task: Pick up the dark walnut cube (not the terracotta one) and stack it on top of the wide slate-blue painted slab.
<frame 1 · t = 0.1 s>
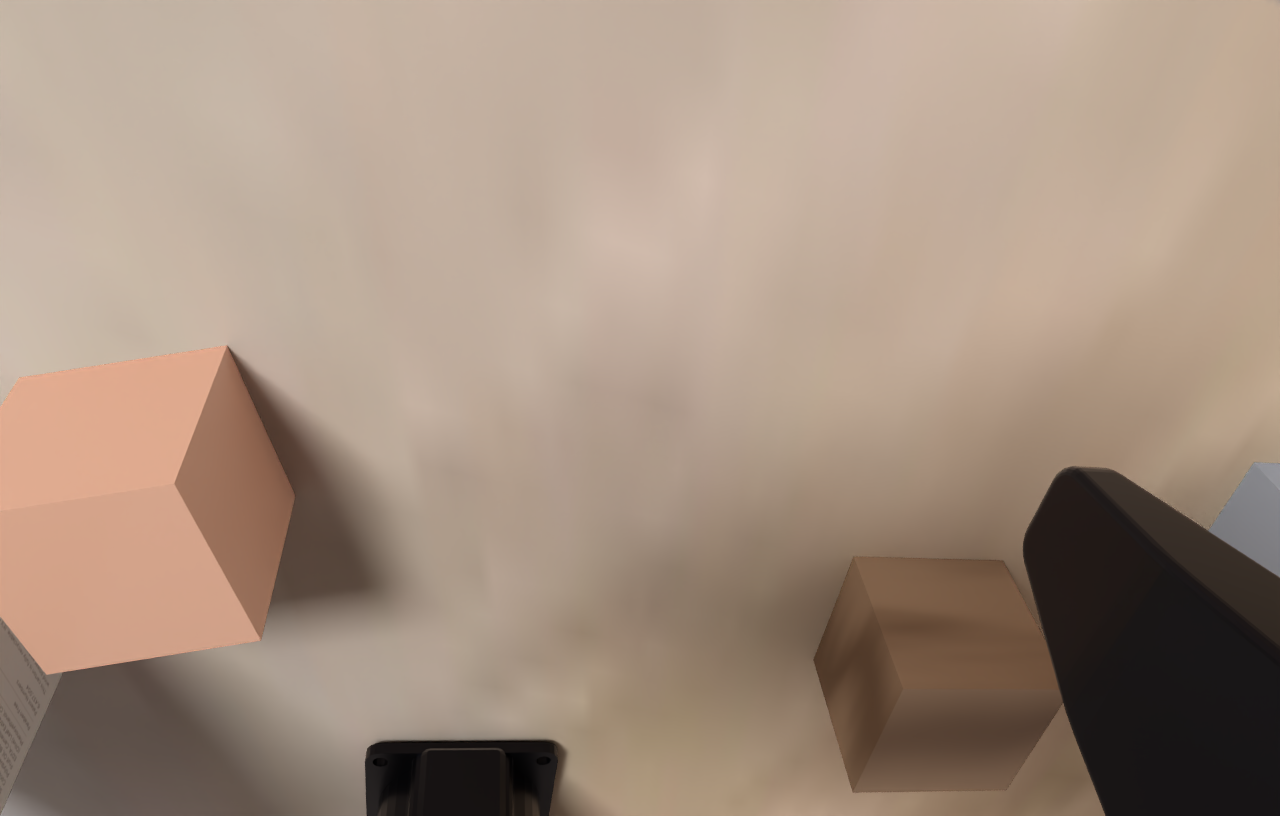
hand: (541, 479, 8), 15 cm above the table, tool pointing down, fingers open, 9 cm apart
terracotta cube: (166, 438, 26), on the table
walnut cube: (904, 609, 33), on the table
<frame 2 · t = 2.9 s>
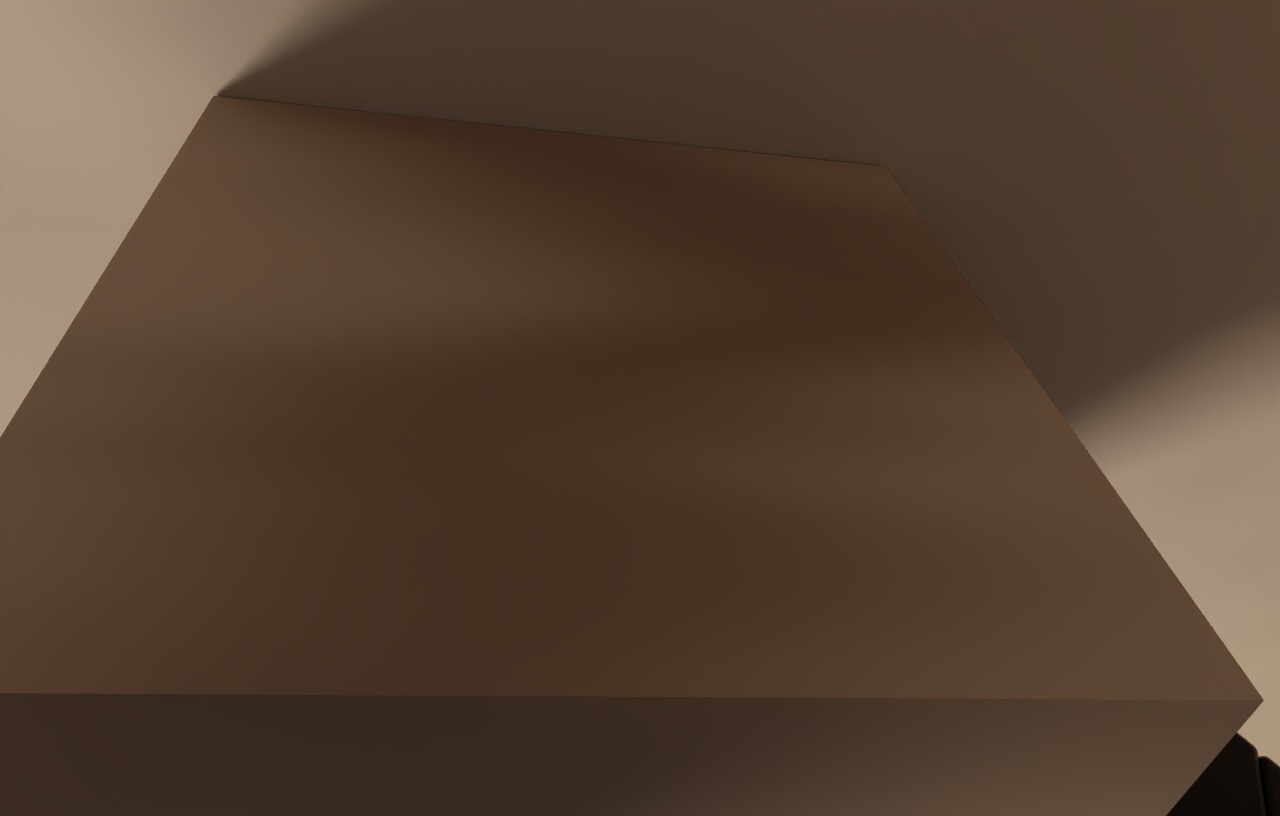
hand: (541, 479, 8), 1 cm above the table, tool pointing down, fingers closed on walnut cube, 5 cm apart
walnut cube: (538, 400, 9), on the table, touching gripper
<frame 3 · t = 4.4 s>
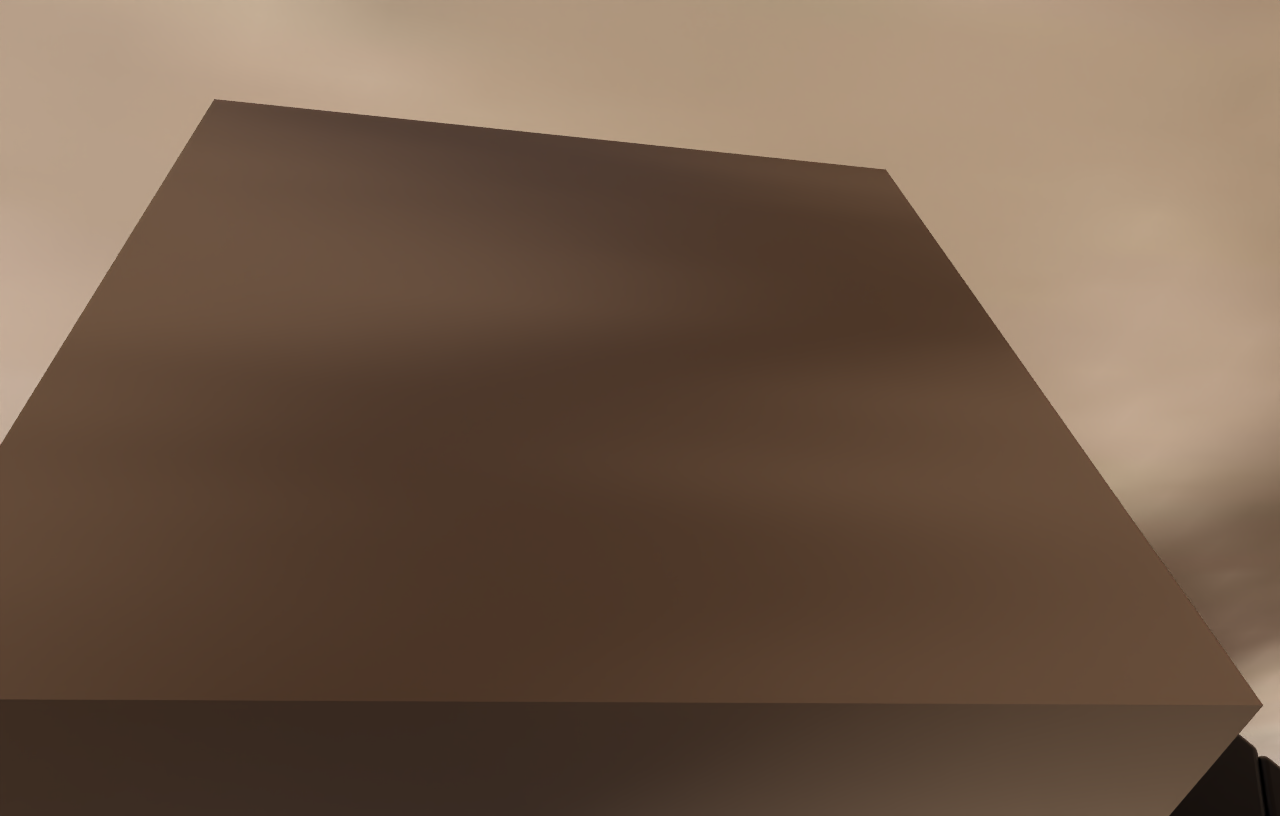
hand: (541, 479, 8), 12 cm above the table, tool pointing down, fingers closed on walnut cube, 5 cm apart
walnut cube: (539, 403, 9), point 11 cm above the table, touching gripper
when the fingers open (6 cm above the table, at t = 6.1 s): walnut cube drops 1 cm, resting on slate slab.
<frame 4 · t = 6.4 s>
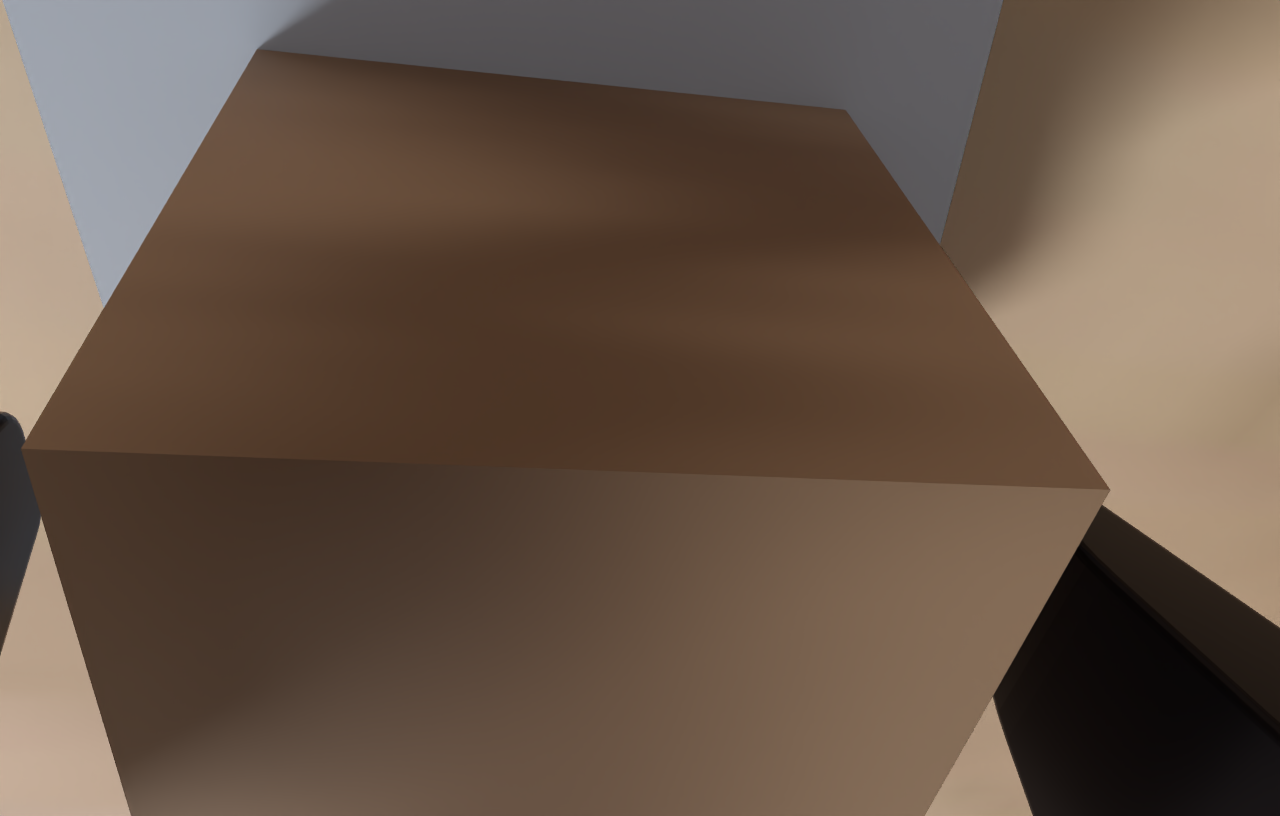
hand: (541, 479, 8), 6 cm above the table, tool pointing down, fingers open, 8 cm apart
walnut cube: (541, 327, 10), point 4 cm above the table, touching slate slab
slate slab: (527, 152, 13), on the table, touching walnut cube
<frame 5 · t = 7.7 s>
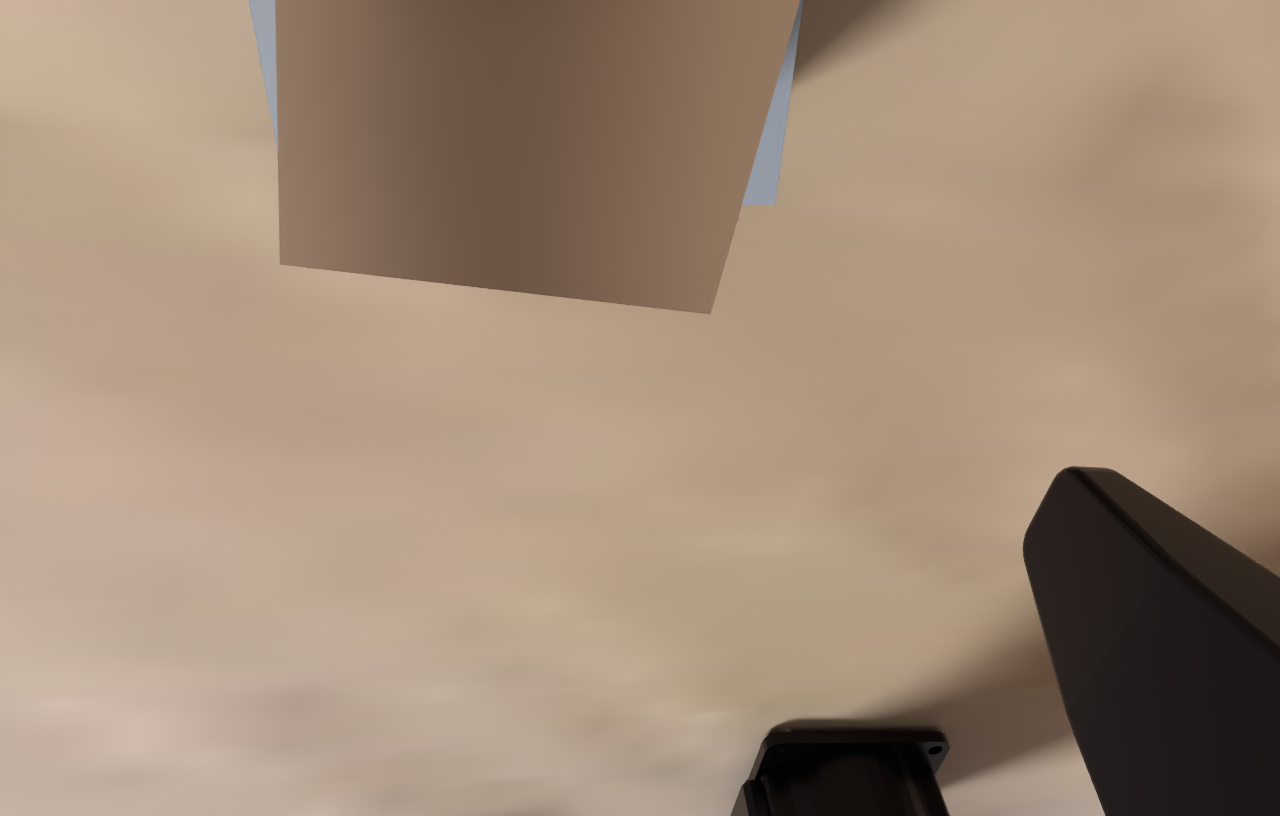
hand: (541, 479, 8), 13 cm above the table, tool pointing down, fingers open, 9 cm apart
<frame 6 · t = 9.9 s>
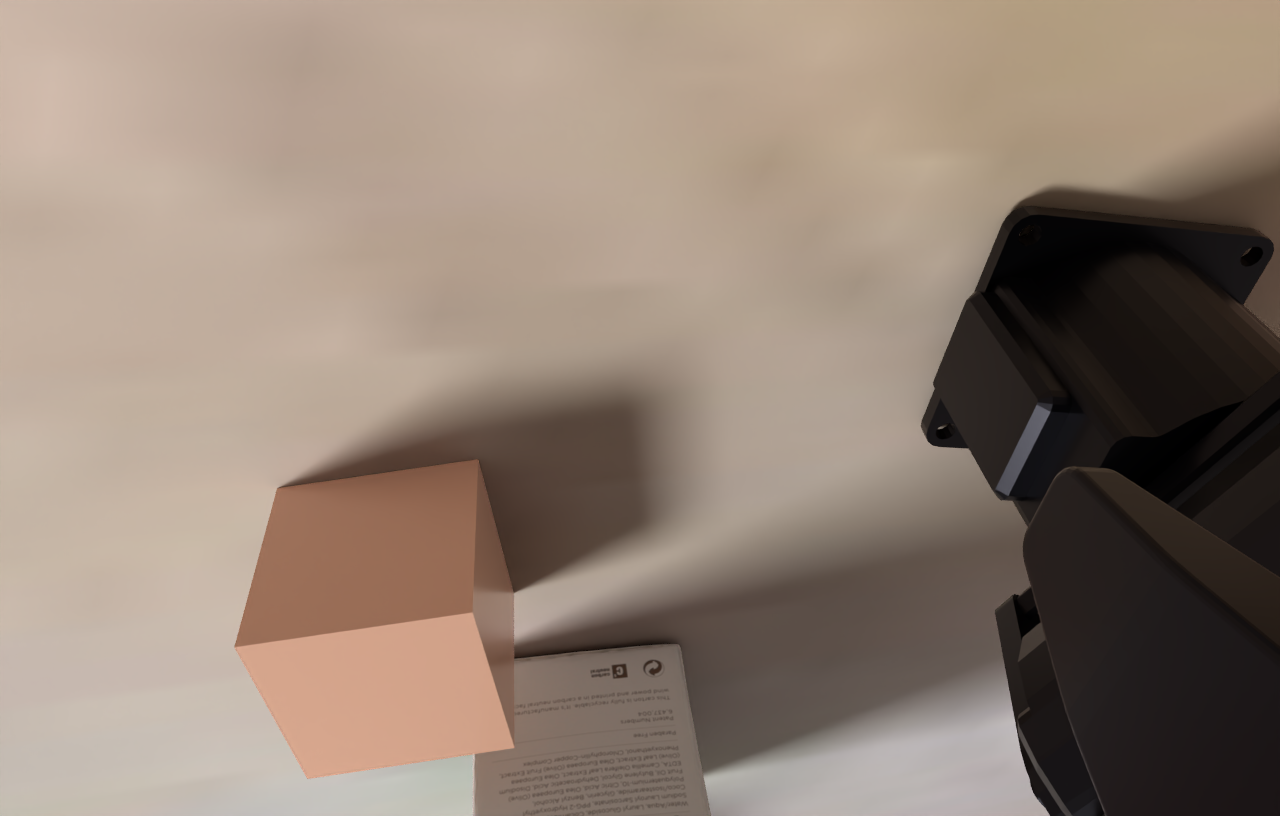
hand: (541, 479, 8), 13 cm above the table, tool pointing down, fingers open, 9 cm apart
terracotta cube: (402, 541, 26), on the table
skincare box: (590, 722, 32), on the table
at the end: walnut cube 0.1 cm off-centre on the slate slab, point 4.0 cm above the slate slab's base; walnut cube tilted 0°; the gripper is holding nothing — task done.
